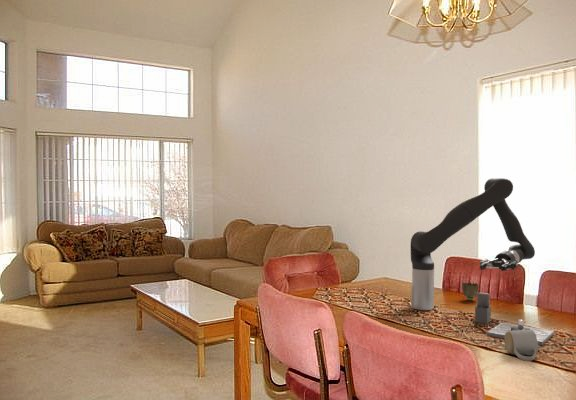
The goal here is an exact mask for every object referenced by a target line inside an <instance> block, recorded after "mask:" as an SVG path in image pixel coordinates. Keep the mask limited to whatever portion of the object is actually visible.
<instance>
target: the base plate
mask: <svg viewBox="0 0 576 400" xmlns="http://www.w3.org/2000/svg"><path fill="white" fill-rule="evenodd" d="M524 321H525V320H523V319H517V324H513V323H508V322H500V323H498V324H497V325H496V326H494V327H493V328H490V329H489V330H488V331H486V336H487V337H494V338H498V339H504V338H505V334H506V332H508V331H516V330H533V331H534V332H535V334H536V337H537V341H538V346H543V345H544V344H545V343H547V341H548V340H550V338H551V337H553V335H555V330H551V329H547V328H546V329H545V328H539V327H532V326H526V325H524V324H525V322H524Z"/></svg>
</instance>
